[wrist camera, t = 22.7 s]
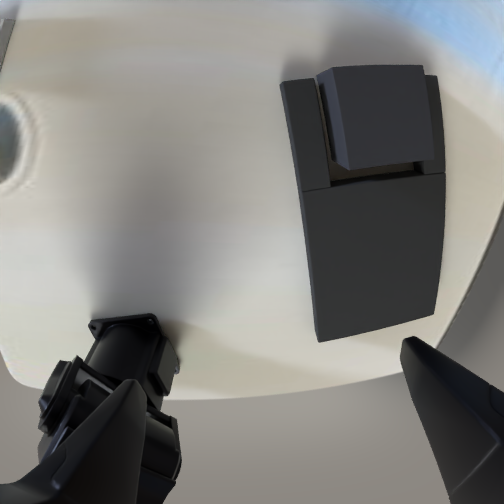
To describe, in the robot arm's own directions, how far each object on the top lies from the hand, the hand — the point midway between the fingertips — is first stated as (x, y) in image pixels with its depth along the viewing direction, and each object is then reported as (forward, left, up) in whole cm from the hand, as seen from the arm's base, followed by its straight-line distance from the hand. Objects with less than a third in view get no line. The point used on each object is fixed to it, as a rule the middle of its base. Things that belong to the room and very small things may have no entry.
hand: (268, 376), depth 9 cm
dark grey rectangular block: (+8, +7, -12) cm, 16 cm away
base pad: (+8, 0, -12) cm, 14 cm away
